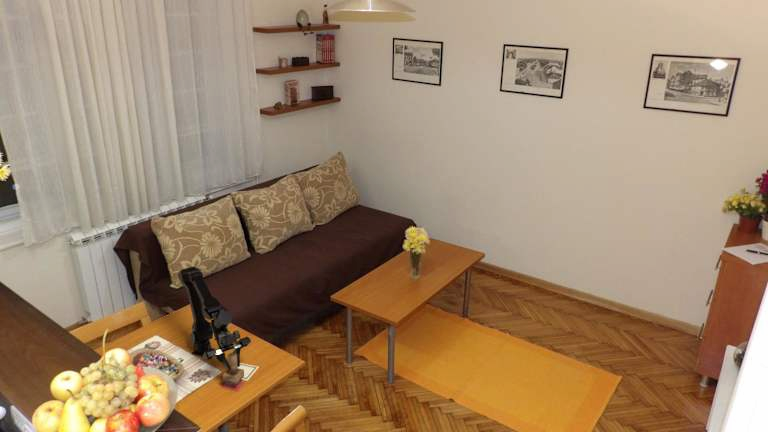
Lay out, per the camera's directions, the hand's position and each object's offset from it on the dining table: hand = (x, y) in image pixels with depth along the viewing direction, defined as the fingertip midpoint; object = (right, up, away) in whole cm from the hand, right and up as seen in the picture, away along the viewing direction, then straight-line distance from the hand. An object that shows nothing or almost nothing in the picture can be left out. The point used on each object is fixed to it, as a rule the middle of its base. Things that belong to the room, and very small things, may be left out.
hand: (234, 368), depth 223 cm
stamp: (-1, -5, +3) cm, 6 cm away
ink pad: (-2, -9, +4) cm, 10 cm away
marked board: (0, -6, +13) cm, 14 cm away
